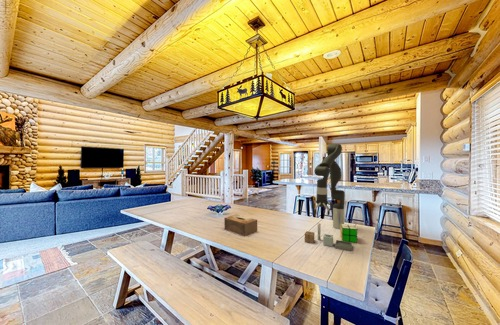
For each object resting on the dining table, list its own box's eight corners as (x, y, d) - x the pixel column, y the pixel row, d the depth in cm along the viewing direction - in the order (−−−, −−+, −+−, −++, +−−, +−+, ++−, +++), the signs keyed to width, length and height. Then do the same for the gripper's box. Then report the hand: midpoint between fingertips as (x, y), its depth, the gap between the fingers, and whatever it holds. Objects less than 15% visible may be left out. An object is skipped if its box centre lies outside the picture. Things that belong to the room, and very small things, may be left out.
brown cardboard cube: (306, 238, 154) (306, 231, 154) (314, 240, 151) (314, 232, 151) (304, 241, 148) (304, 233, 148) (313, 243, 146) (313, 235, 146)
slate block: (324, 241, 148) (324, 233, 148) (333, 243, 145) (333, 235, 145) (323, 245, 143) (323, 236, 143) (332, 246, 140) (332, 238, 140)
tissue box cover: (257, 231, 171) (257, 219, 171) (245, 236, 160) (245, 223, 160) (236, 224, 188) (236, 214, 188) (224, 228, 178) (224, 217, 178)
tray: (336, 242, 146) (336, 239, 146) (351, 245, 142) (351, 242, 142) (335, 248, 137) (335, 245, 137) (351, 251, 133) (351, 248, 133)
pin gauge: (317, 238, 154) (317, 223, 154) (320, 239, 153) (320, 223, 153) (317, 239, 152) (317, 224, 152) (320, 240, 151) (320, 224, 151)
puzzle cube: (354, 237, 156) (354, 224, 156) (357, 242, 146) (357, 229, 146) (340, 236, 159) (340, 223, 159) (342, 241, 149) (342, 227, 149)
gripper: (332, 193, 150) (332, 214, 151) (312, 191, 156) (312, 212, 157) (332, 194, 144) (331, 217, 144) (311, 193, 150) (311, 215, 150)
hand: (321, 214), depth 150 cm, fingers open, 8 cm apart
